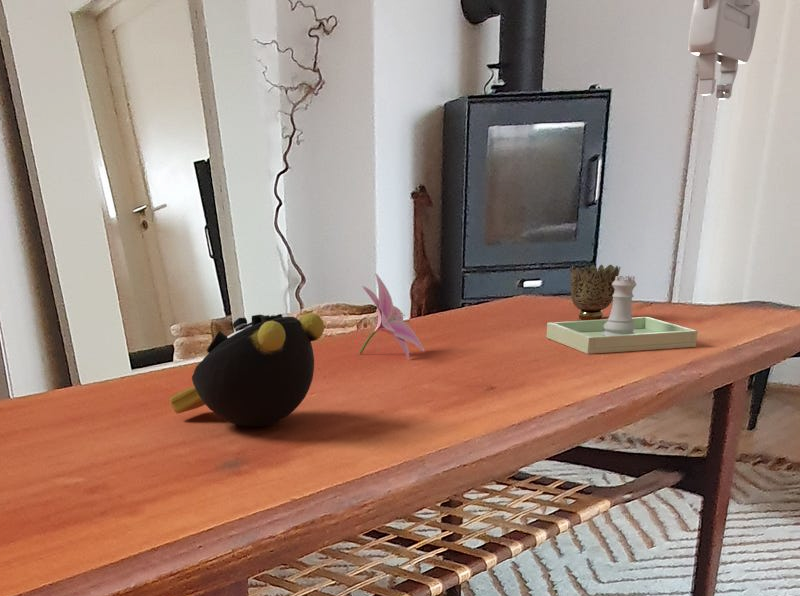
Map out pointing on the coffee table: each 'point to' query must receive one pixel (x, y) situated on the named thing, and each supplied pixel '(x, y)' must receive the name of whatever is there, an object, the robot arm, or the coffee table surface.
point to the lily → (391, 319)
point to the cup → (592, 289)
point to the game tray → (621, 336)
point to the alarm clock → (255, 370)
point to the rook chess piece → (621, 308)
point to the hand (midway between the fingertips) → (714, 96)
